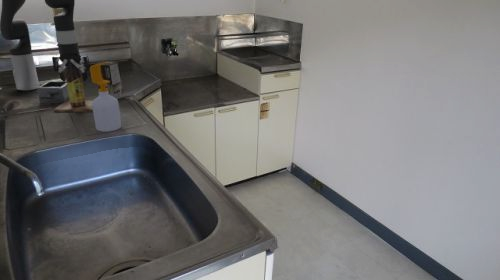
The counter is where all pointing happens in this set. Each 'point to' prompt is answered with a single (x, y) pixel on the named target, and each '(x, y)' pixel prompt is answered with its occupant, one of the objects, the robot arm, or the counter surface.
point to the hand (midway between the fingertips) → (74, 80)
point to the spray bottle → (104, 104)
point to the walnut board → (74, 107)
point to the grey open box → (53, 92)
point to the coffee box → (112, 78)
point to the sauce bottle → (74, 85)
